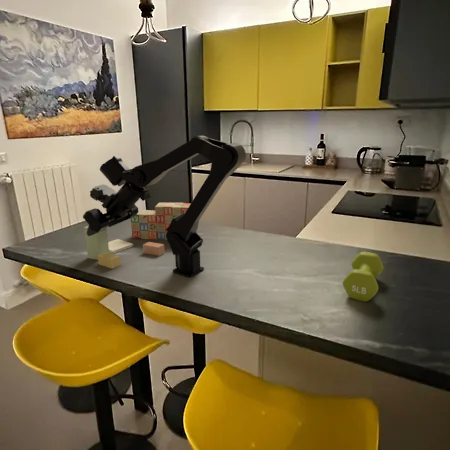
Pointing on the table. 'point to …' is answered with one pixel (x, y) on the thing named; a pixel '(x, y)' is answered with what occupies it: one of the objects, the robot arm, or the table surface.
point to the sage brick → (96, 243)
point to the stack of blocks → (156, 220)
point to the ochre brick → (109, 260)
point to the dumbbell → (363, 276)
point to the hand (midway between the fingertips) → (98, 230)
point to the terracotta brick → (153, 248)
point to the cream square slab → (118, 245)
